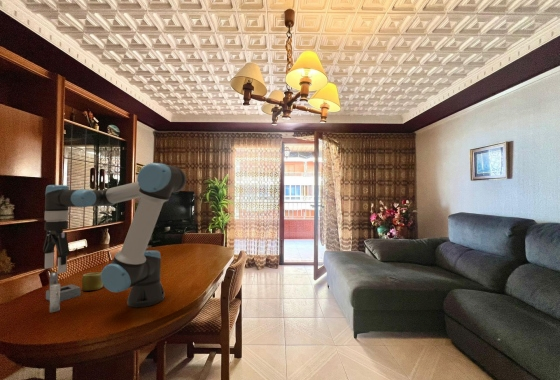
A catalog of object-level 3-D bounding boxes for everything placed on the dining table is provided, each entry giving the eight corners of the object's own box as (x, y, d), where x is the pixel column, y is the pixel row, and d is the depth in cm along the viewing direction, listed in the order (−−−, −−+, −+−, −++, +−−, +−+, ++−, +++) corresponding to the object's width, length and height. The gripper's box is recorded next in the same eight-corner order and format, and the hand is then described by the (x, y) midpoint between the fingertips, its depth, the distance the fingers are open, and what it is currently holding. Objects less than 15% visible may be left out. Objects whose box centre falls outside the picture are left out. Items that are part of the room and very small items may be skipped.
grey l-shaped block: (80, 295, 120) (81, 275, 120) (54, 303, 111) (54, 281, 112) (64, 289, 129) (64, 270, 130) (39, 295, 120) (39, 275, 121)
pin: (61, 310, 104) (61, 284, 105) (51, 313, 102) (51, 286, 102) (58, 308, 106) (58, 283, 106) (48, 311, 103) (48, 285, 104)
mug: (92, 290, 122) (91, 269, 125) (76, 295, 124) (76, 275, 127) (114, 286, 134) (113, 268, 137) (99, 291, 136) (98, 272, 139)
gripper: (80, 221, 102) (79, 272, 102) (56, 218, 115) (54, 264, 114) (57, 222, 96) (55, 277, 95) (34, 220, 108) (32, 268, 107)
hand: (55, 270), depth 104 cm, fingers open, 13 cm apart
